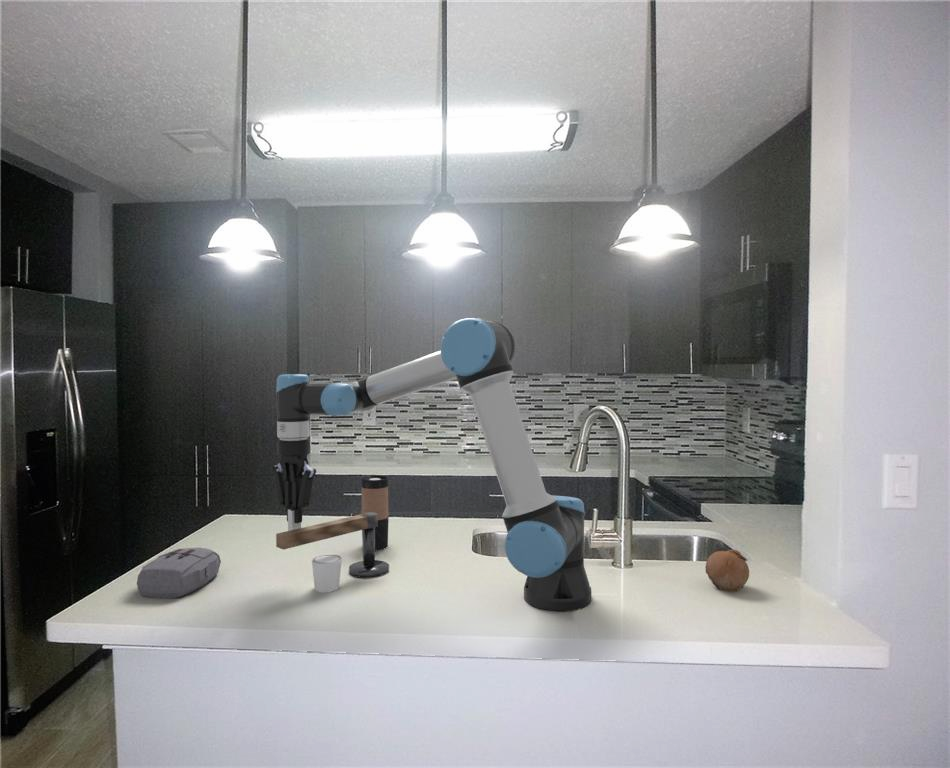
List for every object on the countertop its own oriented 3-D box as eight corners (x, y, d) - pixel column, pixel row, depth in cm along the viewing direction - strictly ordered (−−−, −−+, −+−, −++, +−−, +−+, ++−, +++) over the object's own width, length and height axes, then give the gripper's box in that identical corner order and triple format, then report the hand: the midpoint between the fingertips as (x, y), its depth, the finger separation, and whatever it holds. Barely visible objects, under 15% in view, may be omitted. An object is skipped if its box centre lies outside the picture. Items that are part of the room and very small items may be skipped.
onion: (737, 597, 147) (754, 559, 148) (740, 601, 139) (758, 560, 140) (698, 578, 151) (715, 540, 152) (698, 580, 143) (716, 540, 143)
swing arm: (370, 522, 160) (370, 511, 160) (381, 526, 157) (381, 514, 157) (274, 546, 140) (274, 533, 140) (285, 550, 137) (284, 536, 137)
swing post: (397, 570, 158) (396, 527, 157) (365, 580, 150) (365, 535, 150) (372, 561, 164) (372, 520, 164) (341, 571, 157) (340, 528, 157)
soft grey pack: (189, 601, 138) (233, 571, 158) (188, 564, 138) (232, 538, 158) (126, 598, 140) (177, 569, 159) (125, 562, 139) (176, 537, 159)
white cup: (305, 590, 144) (305, 560, 144) (325, 580, 150) (325, 552, 150) (328, 595, 141) (328, 565, 141) (348, 585, 147) (347, 556, 147)
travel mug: (386, 550, 174) (385, 480, 173) (359, 550, 174) (358, 480, 173) (390, 543, 182) (390, 475, 181) (364, 542, 182) (364, 475, 181)
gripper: (262, 438, 149) (264, 535, 150) (300, 442, 142) (301, 543, 143) (287, 435, 155) (288, 528, 156) (324, 438, 148) (325, 535, 149)
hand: (294, 535), depth 149 cm, fingers closed
